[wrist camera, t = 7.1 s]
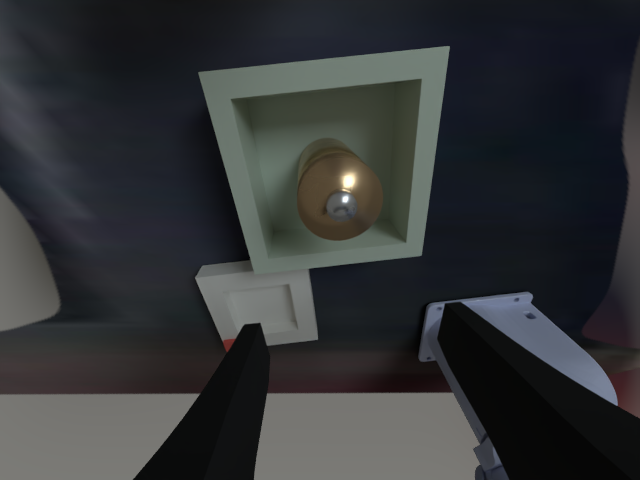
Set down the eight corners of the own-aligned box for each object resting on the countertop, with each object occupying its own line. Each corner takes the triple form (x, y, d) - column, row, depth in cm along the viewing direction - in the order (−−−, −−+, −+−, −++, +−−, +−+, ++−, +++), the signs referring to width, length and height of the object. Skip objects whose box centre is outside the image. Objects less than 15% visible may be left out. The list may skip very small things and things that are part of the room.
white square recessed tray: (306, 253, 19) (307, 267, 17) (316, 326, 23) (318, 342, 21) (202, 265, 19) (193, 280, 17) (230, 336, 23) (225, 353, 21)
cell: (355, 136, 14) (391, 159, 9) (354, 193, 16) (382, 243, 10) (296, 139, 14) (292, 164, 9) (300, 196, 16) (300, 249, 10)
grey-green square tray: (410, 60, 13) (449, 45, 10) (398, 226, 18) (421, 255, 15) (225, 79, 13) (198, 72, 10) (263, 241, 18) (254, 274, 15)
